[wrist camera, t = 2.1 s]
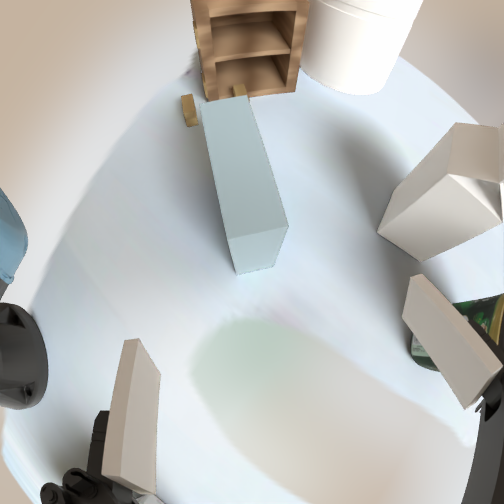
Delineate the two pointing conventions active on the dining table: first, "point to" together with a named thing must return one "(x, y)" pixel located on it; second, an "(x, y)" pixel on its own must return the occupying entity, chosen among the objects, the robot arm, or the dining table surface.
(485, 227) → the milk carton
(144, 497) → the tea box
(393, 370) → the dining table surface
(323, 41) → the canister
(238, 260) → the door
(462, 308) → the coffee jar
